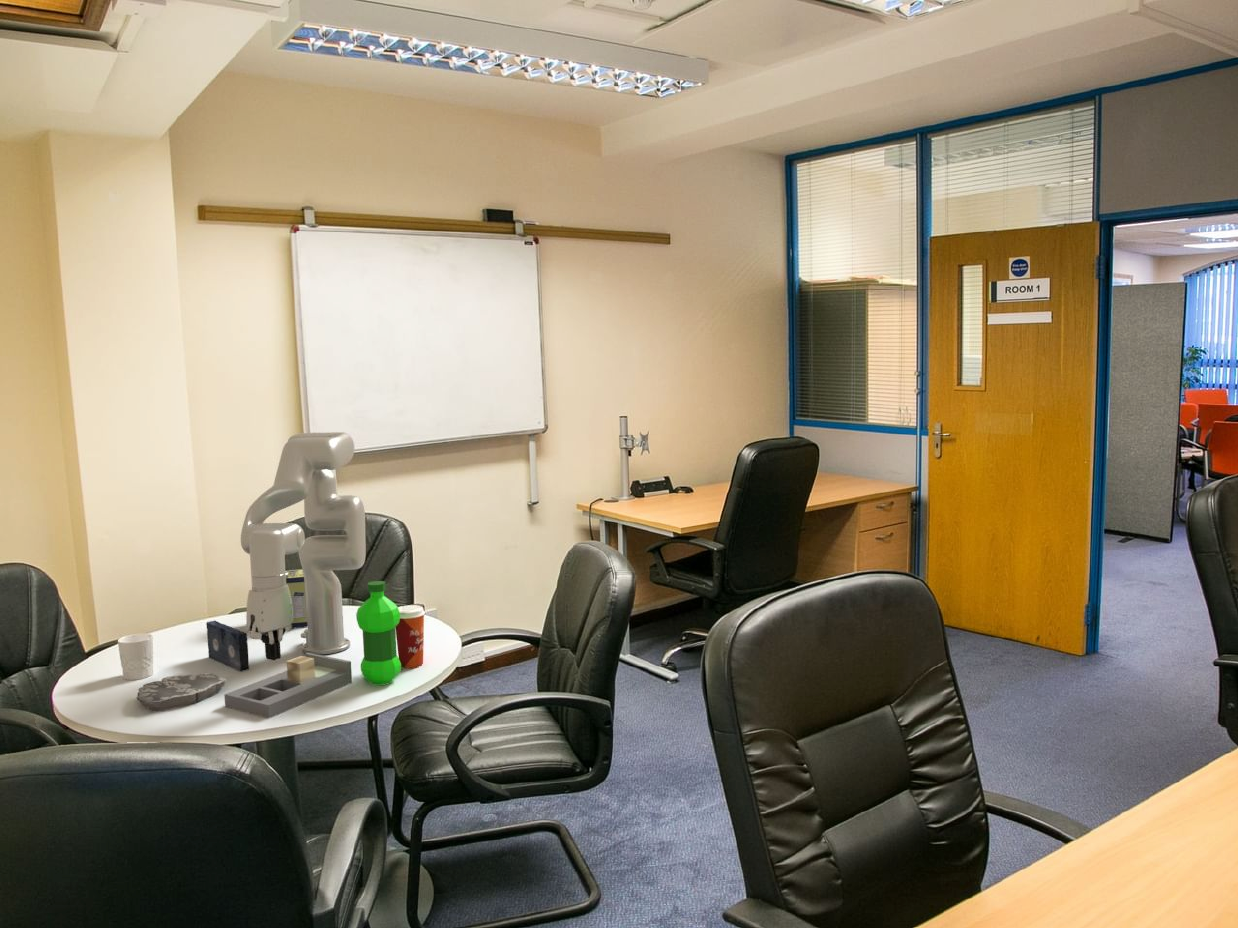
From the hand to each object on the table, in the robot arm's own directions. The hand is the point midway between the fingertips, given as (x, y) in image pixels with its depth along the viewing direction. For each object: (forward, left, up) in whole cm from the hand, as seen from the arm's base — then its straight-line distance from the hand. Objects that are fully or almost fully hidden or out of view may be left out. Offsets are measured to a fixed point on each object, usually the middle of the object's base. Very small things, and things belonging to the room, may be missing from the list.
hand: (273, 658), depth 217 cm
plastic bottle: (+13, +21, -11) cm, 27 cm away
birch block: (0, +8, -7) cm, 11 cm away
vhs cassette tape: (-34, +13, -11) cm, 38 cm away
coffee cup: (+11, +34, -11) cm, 37 cm away
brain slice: (-24, -9, -11) cm, 28 cm away
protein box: (-49, +46, -11) cm, 68 cm away
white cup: (-47, -4, -11) cm, 48 cm away
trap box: (0, +5, -10) cm, 11 cm away
